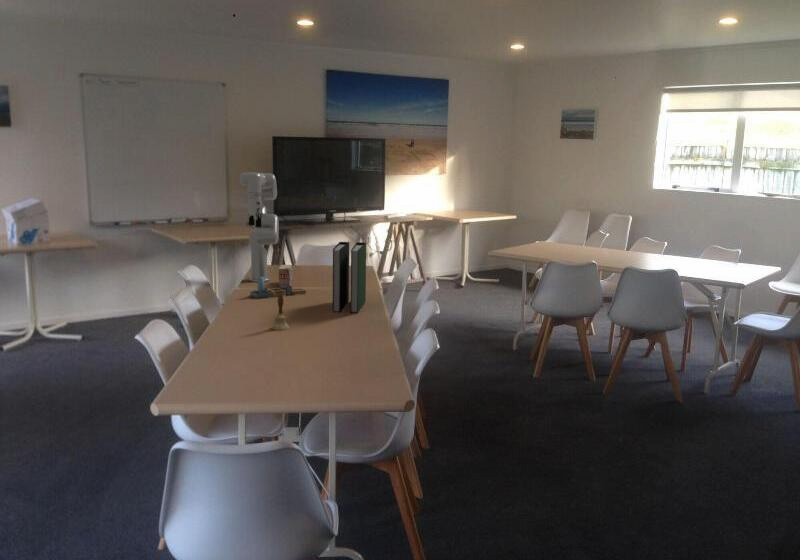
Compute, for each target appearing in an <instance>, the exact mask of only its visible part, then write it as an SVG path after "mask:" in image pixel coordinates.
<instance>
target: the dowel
mask: <svg viewBox="0 0 800 560" xmlns="http://www.w3.org/2000/svg"><path fill="white" fill-rule="evenodd" d="M264 290H265V281H264V277H258V282H257V291H258V294H263V293H264Z"/></svg>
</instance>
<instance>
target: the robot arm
mask: <svg viewBox="0 0 800 560" xmlns="http://www.w3.org/2000/svg"><path fill="white" fill-rule="evenodd" d="M239 183H240V185H241V186H243V187H247V199H248V201H247V202H248V206H247V212H248V214H247V215H248V225H249V226H252V227H253V228H254V229H251V230H249V233H248V239H249V245H250V263H251V264H250V265H251V266H250V267H251V269H250V270H251V274H250V275H251V276H250V277H249V278H248V281H250V282H253V283H254V282H255V283H258V277H264V282H269V281H270V280H271V277H268V251H267V248H265V246H264V245H277V244H278V243H279V237H280V234H279V232H280V231H279V230H280V229H279V228H280V225H279V223H280V222H279V217H278V215H277V214H275V213H267V212H268V211H267V207H266V205H265V204H264V203H263V202H262V201H275V200H276V199H277V197H278V188H277V179H276V176H275V174H273V173H272V172H271V173H268V172H266V173H264V172H257V171H256V172H254V171H253V172H249V171H246V172H243V171H242V172H241V173H240V175H239Z"/></svg>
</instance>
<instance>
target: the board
mask: <svg viewBox="0 0 800 560" xmlns="http://www.w3.org/2000/svg"><path fill="white" fill-rule="evenodd" d="M304 293H306V294H307V291H306V289H303V288H302V287H292V295H291V296H296V295H295V294H300V295H305V294H304Z"/></svg>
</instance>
